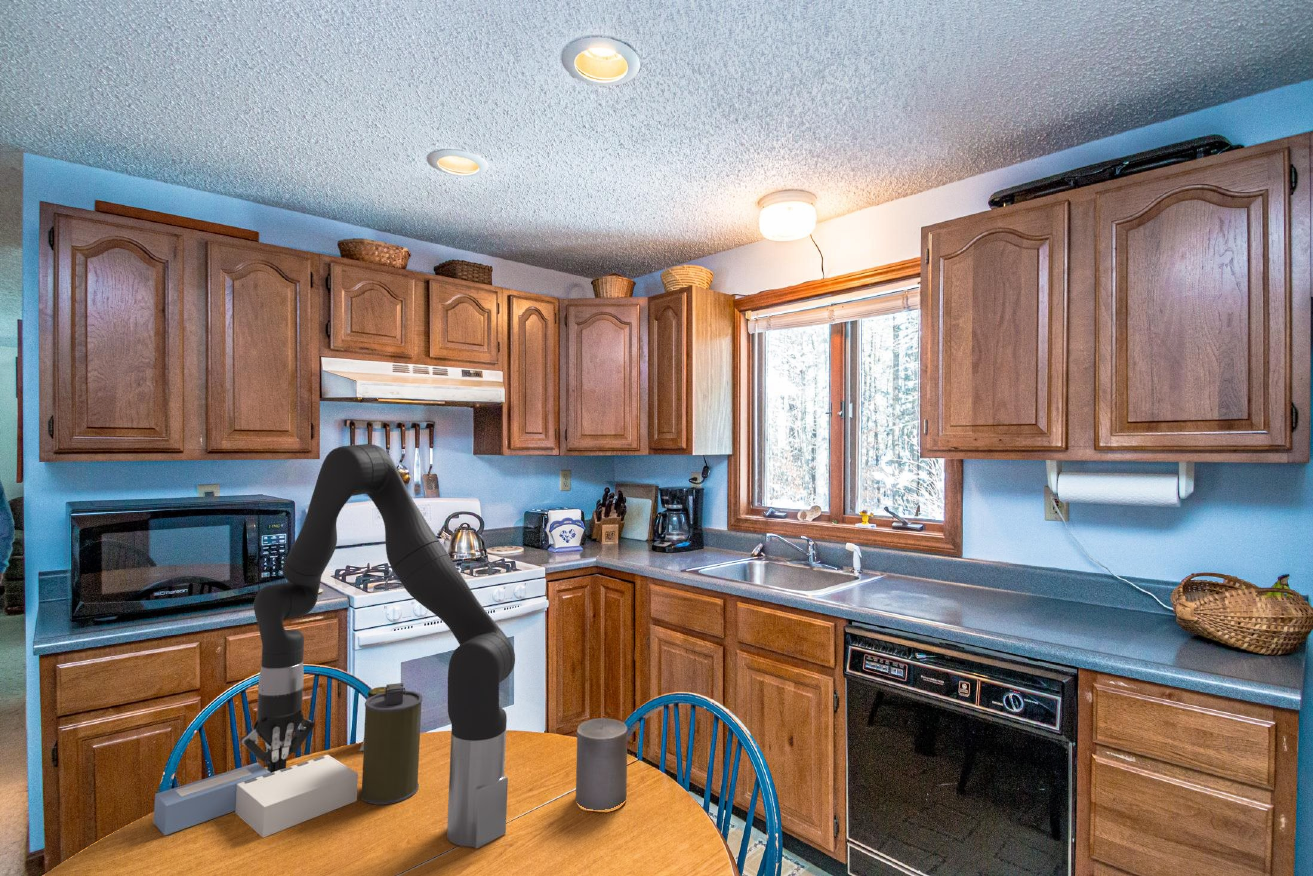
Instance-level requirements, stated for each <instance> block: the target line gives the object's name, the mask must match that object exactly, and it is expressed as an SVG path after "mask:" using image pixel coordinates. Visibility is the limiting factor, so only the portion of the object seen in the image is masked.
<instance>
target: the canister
mask: <svg viewBox="0 0 1313 876" xmlns="http://www.w3.org/2000/svg"><path fill="white" fill-rule="evenodd" d="M385 687H386V692H384V693H380V694H377V695H374V696H372V697H370V698H369V699H368V698H367V699H366V700H365V701H364V707H366V713H365V712H364V726H365V727H364V728H365V734H364V733H363V734H364V735H363V739H364V751H363V756H362V757H363V759H362V776H361V777H362V779H361V781H362V782H361V791H360V793H359V795H360V799H361V800H362V801H363V802H364V803H365V802H366V803H367V804H371V805H377V806H379V805H380V806H381V805H393V804H396V803H400V802H403V801H405V800H407V799H409V798H410V797H413V796H414V795H415V794H416V793H417V792H418V790H419V789H420V788H419V767H420V765H419V764H420V763H419V761H420V741H421V739H420V738H421V722H422V721H421V720H422V719H421V718H422V702H423V698H424V697H423V695H422V694H421V693H419V692H416V691H412V690H406V688H405V687H404V683H403V682H399V683H398V682H397V683H390V684H386V686H385Z"/></svg>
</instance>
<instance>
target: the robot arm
mask: <svg viewBox="0 0 1313 876" xmlns="http://www.w3.org/2000/svg"><path fill="white" fill-rule="evenodd" d="M362 495H367V496H368V497H369V499H370V500H371V501H372V502H373V504H374V506H375V507H376V509H377V510H378V512H379V513H380V515H381V516H380V517H382V520H383V524H384V532H385V533H384V534H385V535H384V537H385V539H384V540H385V552H386V558H387V562H388V563H389V566H390V568H391V569H392V571H393V572H394V574H395V575H396V578H397V579H398V580H399V582H400V583H401V585H402V586H403V588H404V590H405V591H406V592H407V593H408V594H409V596H411V597H412V598H413V599H414V600H415V601H416V602H417V603H419V604H421V606H423V607H424V608H426V609H427V610H428V611H429V612H431V613H433V615H435V616H436V617H438V618H439V619H440V620H441V621H442V622H443V623H445V625H446V627H448V629H449V630H450V631H451V633H452V635H453V636H454V637H455V639H456V642H457V643H458V645H459V646H458V647H456V648H455V650H454V651H453V652H452V654H451V657H450V659H449V663H448V668H447V713H448V714H447V715H448V718H449V720H450V723H451V732H450V733H451V734H450V757H449V775H448V776H449V779H448V798H447V799H448V800H447V802H448V803H447V823H446V824H447V826H446V827H447V828H446V838H447V839H448V840H449V842H450V843H452V844H455V845H457V846H461V847H471V848H474V849H479V848H481V847H483V846H485V845H486V844H488V843H490V842H493V841H494V840H496V839H498V838H500V837H502V836H504V835H505V834H506V833H507V814H508V813H507V810H508V809H507V808H508V807H507V806H508V782H509V781H508V779H509V778H508V777H507V776H505V769H506V768H505V766H506V765H505V764H506V763H505V762H506V745H507V744H506V743H507V742H506V740H507V739H506V738H507V721H508V719H507V712H506V710H505V709H504V708H502V707H500V684H501V683H502V682H503V681H505V679H507V678H508V677H509V676H510V674H511V673H512V671H513V670H514V668H515V664H516V655H515V654H516V653H515V649H514V647H513V644H512V643H511V641H510V639H509V638H508V637H507V635H506V634H505V633H504V631H503V630H502V629H501V627H499V626H498V624H497V623H496V621H494V619H493V618H492V617H491V616H490V615H489V613H488V612H487V611H486V609H485V608H484V607H483V605H482V604H481V603H480V602H479V600H478V599H477V598H476V595H474V593H473V591H472V589H471V588H470V586H469V585H468V583H467V581H466V580H465V578H464V577H463V576H462V574H461V572H459V571H460V570H458V568H457V567H456V565H455V563H454V562H453V560H452V558H451V557H450V555H449V553H448V552H447V550H446V549H445V547H444V546H443V544H442V543H441V541H440V539H439V538H438V537H437V535H436V534H435V533H434V531H433V530H432V528H431V527H430V525H429V523H428V522H427V521H426V519H425V517H424V515H423V514H422V513H421V511H420V509H419V508H418V505H416V502H415V501H414V500H413V497H412V496H411V494H410V492H409V490H408V488H407V486H406V484H405V482H404V480H403V478H402V477H401V474H400V473H399V470H398V468H397V467H396V465H395V463H394V461H393V459H392V458H391V456H390V454H388V452H387V451H386V450H385V449H384V448H382V447H381V446H379V445H376V444H372V443H371V444H370V443H365V444H363V443H362V444H355V445H353V444H352V445H351V444H350V445H342V446H341V445H340V446H338V447H336V448H334V449H332V450H331V451H330V452H328V454H327V455H326V457H325V458H324V460H323V463H322V464H321V467H320V469H319V472H318V476H317V479H316V483H315V486H314V489H313V493H312V496H311V499H310V502H309V504H308V508H307V512H306V515H305V518H304V521H303V524H302V526H301V528H300V532H299V533H298V535H297V537H296V539H295V541H294V543H293V545H292V546H291V549H290V550H289V552H288V554H287V556H286V558H285V560H284V562H283V565H282V567H281V573H282V576H283V577H284V578H285V579H286V580H287V581H288V582H282V583H275V584H269V585H268V584H267V585H265V586H263V587H262V588H260V590H258V592H257V594H256V596H255V597H254V601H253V610H254V611H253V612H254V615H255V619H256V622H257V627H258V631H259V634H260V640H261V643H262V647H261V662H260V663H261V666H260V670H259V671H260V672H259V676H258V684H257V690H258V691H257V692H258V693H257V707H256V708H257V709H256V710H257V711H256V720H255V723H254V725H253V730H252V731H251V732H250V733H248V735H243V736H242V737H241V738H240V743H241V744H242V745H244V747H246V749H247V750H248V751H250V753H252V754H253V756H255V757H256V758H257V759H258V760H260V761H261V762H263V763H265V762H267V765H266V769H267V770H268V771H270V772H271V773H272V772H275V771H278V770H282V769H285V768H287V758H288V757H289V756H290V755H291V754H295V753H297V752H298V751H299V749H300V747H301V746H302V744H303V743H304V741H305V740H306V739H307V737H308V736H309V734H310V733H311V732H312V730H313V729H314V727H315V723H314V721H312V720H310V719H308V718H305V716H304V715H305V714H304V713H303V711H302V709H303V699H304V698H303V696H304V695H303V694H304V677H305V673H304V671H305V670H304V651H305V650H304V648H305V646H304V645H305V637H304V634H303V632H302V631H300V630H296V629H285V627H284V623H283V622H284V621H285V620H290V619H295V618H300V617H304V616H305V615H307V614H309V613H310V612H311V611H313V609H314V608H315V606H316V604H317V602H318V597H319V592H320V586H321V581H322V576H323V574H324V572H325V570H326V568H327V567H328V565H329V563H330V561H331V559H332V557H333V555H334V553H335V550H336V547H337V543H338V532H337V521H338V518H339V517H338V516H339V514H340V512H341V511H342V509H343V508H344V507H345V505H346V504H347V503H348V501H349V500H350V498H351V497H353V496H362ZM258 736H259V737H260V738H261V740H262V741H264V743H265V745H264V746H265V747H266V751H264V750H263V749H262V748H261V747H260V746H259V745H258V742H259V738H258Z"/></svg>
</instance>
